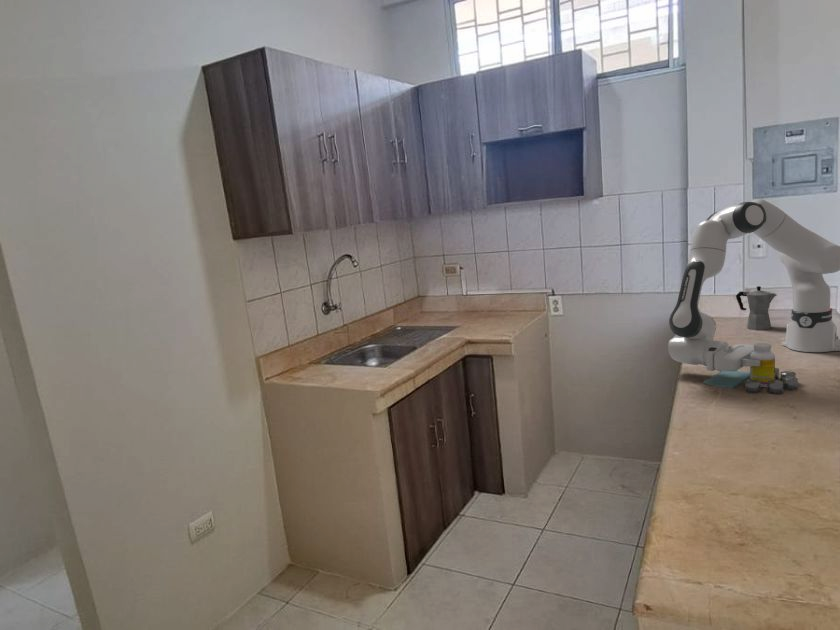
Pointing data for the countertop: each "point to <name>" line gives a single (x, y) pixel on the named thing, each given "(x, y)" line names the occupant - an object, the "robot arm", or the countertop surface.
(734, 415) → the countertop surface
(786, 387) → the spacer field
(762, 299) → the coffeepot
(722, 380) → the mat
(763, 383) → the supplement bottle
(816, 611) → the countertop surface
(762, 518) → the countertop surface
